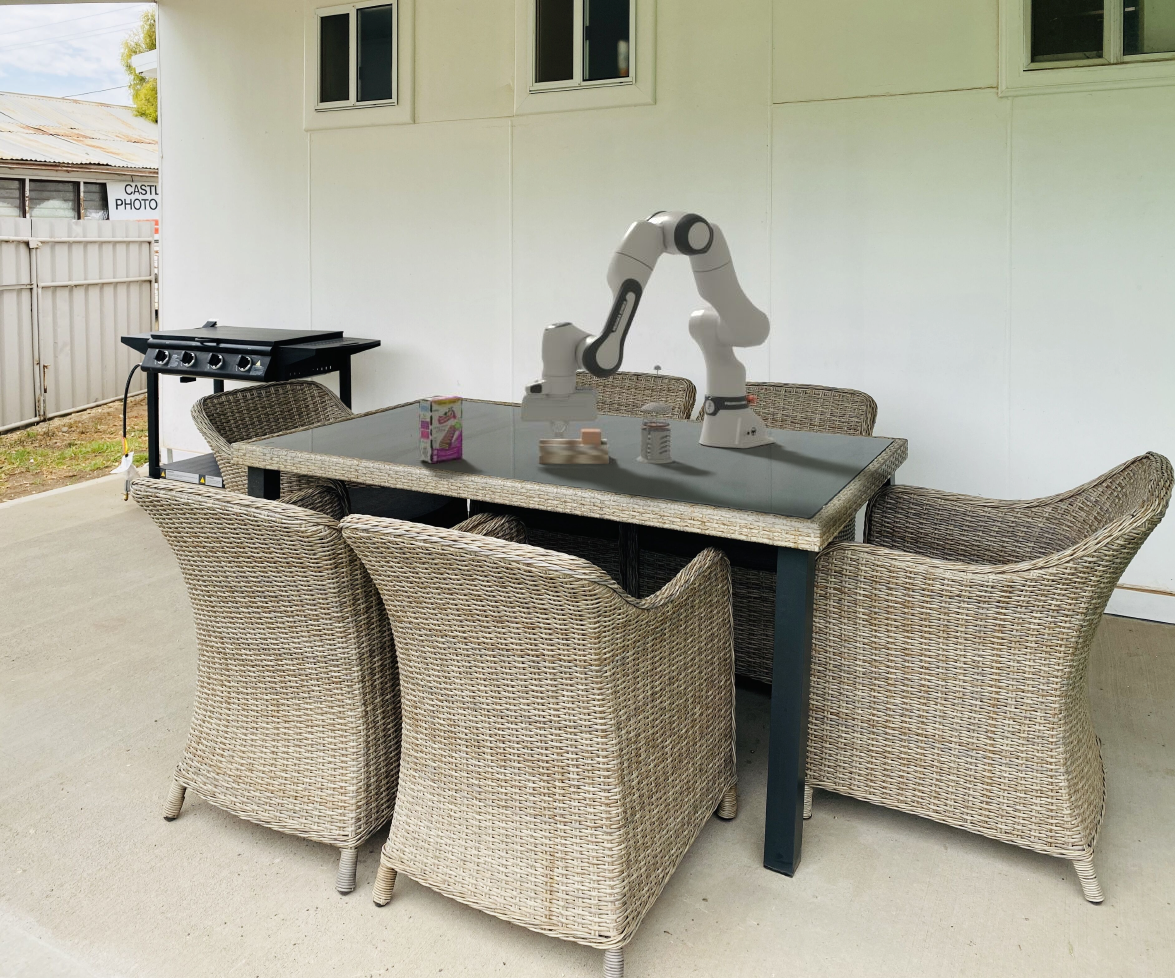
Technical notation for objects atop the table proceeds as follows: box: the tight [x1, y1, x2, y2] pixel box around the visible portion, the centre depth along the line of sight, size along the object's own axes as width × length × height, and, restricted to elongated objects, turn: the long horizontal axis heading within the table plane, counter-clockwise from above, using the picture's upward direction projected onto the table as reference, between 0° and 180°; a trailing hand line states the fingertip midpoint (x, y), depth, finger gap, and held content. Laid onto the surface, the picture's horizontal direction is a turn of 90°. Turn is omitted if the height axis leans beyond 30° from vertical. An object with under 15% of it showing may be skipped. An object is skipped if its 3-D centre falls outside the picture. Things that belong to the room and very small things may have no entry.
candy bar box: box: [418, 395, 463, 464], centre depth 253 cm, size 11×5×16 cm, turn 141°
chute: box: [538, 438, 610, 465], centre depth 257 cm, size 18×12×4 cm, turn 92°
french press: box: [636, 364, 674, 464], centre depth 254 cm, size 10×12×25 cm
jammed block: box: [580, 428, 602, 445], centre depth 257 cm, size 5×6×6 cm
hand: (559, 438), depth 257 cm, fingers closed
